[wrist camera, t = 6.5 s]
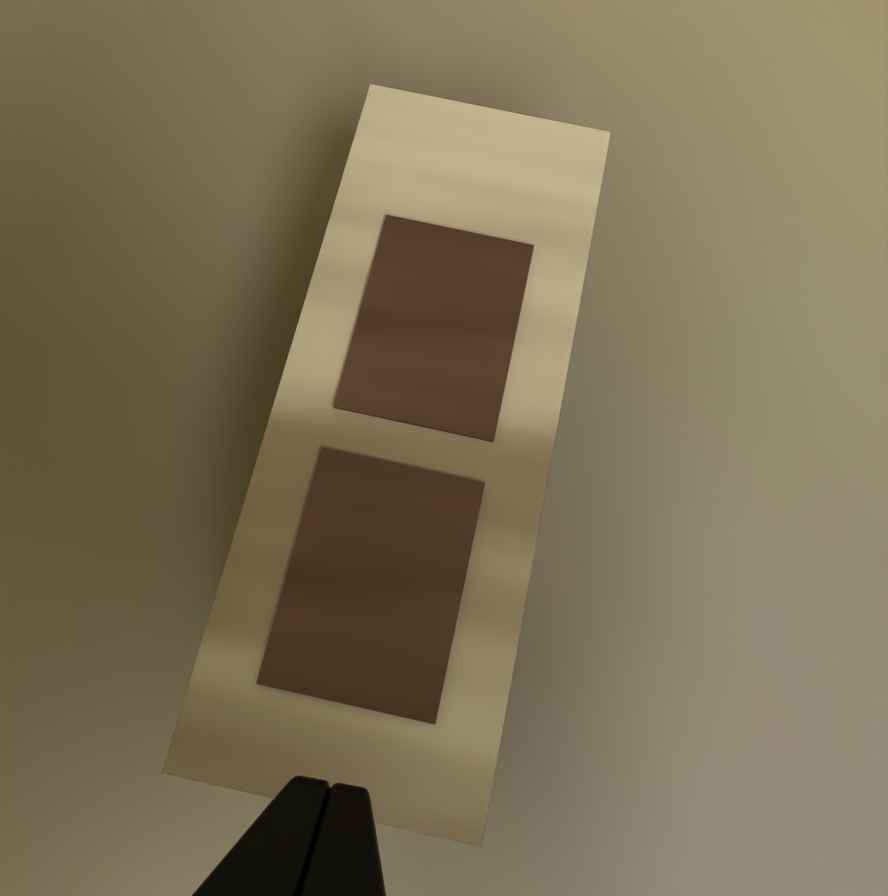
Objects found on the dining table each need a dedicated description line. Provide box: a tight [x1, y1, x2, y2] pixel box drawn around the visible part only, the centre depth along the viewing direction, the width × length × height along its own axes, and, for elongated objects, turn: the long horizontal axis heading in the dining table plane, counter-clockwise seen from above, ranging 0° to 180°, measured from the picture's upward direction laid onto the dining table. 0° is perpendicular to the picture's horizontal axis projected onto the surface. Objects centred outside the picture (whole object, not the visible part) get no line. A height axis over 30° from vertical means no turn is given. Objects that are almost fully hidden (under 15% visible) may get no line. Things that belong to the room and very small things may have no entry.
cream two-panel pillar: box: [162, 84, 611, 847], centre depth 14 cm, size 5×4×12 cm
